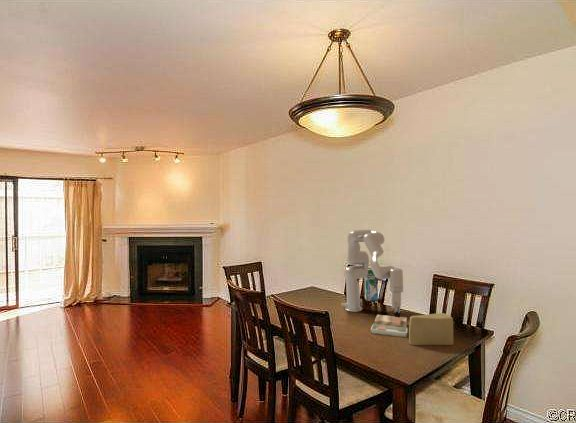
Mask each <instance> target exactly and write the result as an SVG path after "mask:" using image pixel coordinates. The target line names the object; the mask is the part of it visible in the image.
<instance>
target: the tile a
mask: <svg viewBox="0 0 576 423" xmlns="http://www.w3.org/2000/svg"><path fill="white" fill-rule="evenodd" d="M377 330H385V331H386V327H383V326H378V328H377Z"/></svg>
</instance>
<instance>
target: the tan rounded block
mask: <svg viewBox="0 0 576 423" xmlns="http://www.w3.org/2000/svg"><path fill="white" fill-rule="evenodd" d="M408 324H409V325H408V343H409V345H411V346H431V345H432V346H439V345H440V346H453V345H454V318H453V317H452V316H450V315H449V314H447V313H445V312H439V313H429V314H420V315H419V314H418V315H411V316H410V317H409V323H408Z"/></svg>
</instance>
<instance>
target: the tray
mask: <svg viewBox="0 0 576 423" xmlns="http://www.w3.org/2000/svg"><path fill="white" fill-rule="evenodd" d="M378 326H383V327H386V331H385V330H377V328H378ZM370 334H373V335H382V336H391V337H399V338H408V334H409V326H407V327H399V326H389V325H379V324H375V323H372V325H371V327H370Z"/></svg>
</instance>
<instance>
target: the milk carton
mask: <svg viewBox="0 0 576 423" xmlns="http://www.w3.org/2000/svg"><path fill="white" fill-rule="evenodd" d="M363 279H364V280H363V281H364V299H365V301H367V302H378V301H379V297H378V296H379V294H378V289H379V288H378V278H376V276H375V275H374V273H373V271H372V269H371V268H368V274H367V276H366V277H365V278H363Z"/></svg>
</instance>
